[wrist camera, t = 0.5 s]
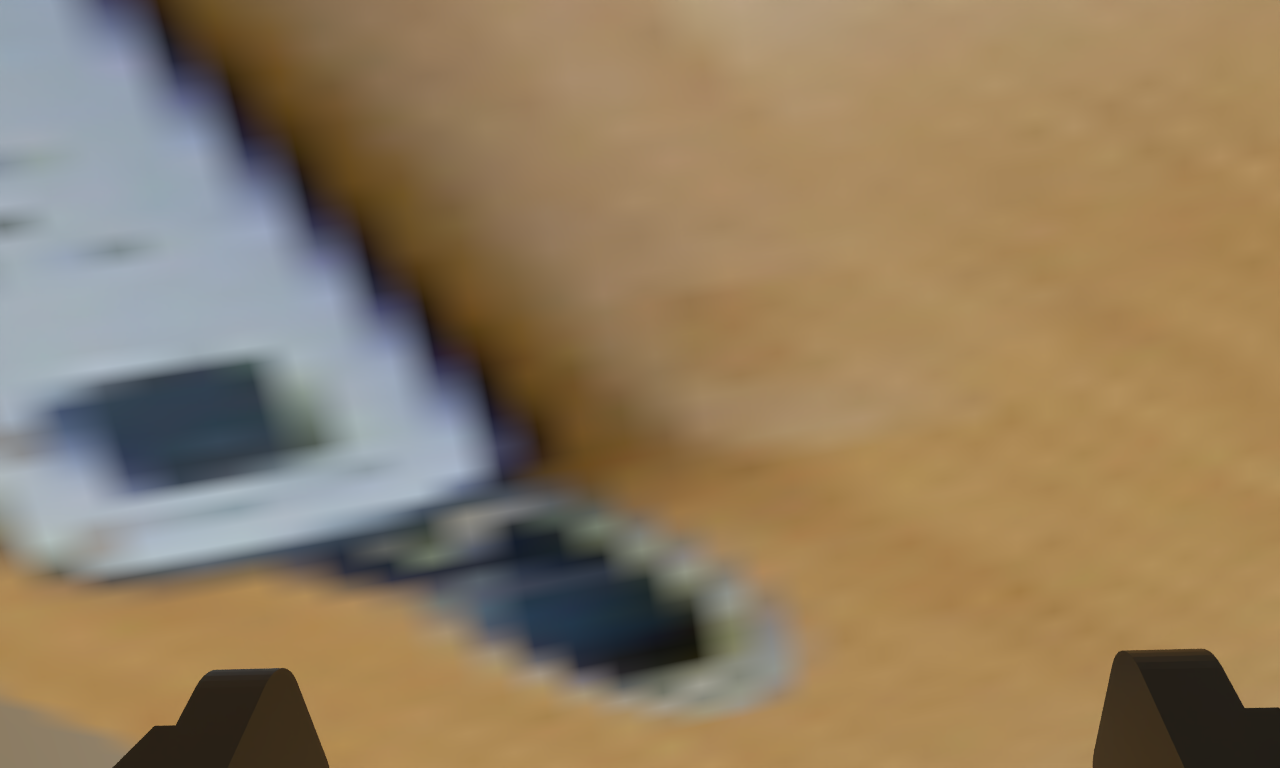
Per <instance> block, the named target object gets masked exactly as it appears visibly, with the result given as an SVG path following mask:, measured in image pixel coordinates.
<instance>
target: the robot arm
mask: <svg viewBox="0 0 1280 768" xmlns="http://www.w3.org/2000/svg"><path fill="white" fill-rule="evenodd" d="M113 768H329V765H328V761H327V759H326V756H325V753H324V751H323V748H322V746H321V743H320V740H319V738H318V735H317V733H316V730H315V727H314V725H313V722H312V720H311V717H310V715H309V712H308V709H307V707H306V704H305V702H304V699H303V696H302V694H301V691H300V689H299V686H298V683H297V681H296V679H295V677H294V675H293V674H292V673H291V672H290V671H289V670H288V669H285V668H273V669H232V670H212V671H210V672H208V673H207V674H206V675H204V676H203V678H202V679H201V680H200V681H199V683H198V684H197V686H196V688H195V690H194V691H193V693H192V695H191V697H190V699H189V701H188V703H187V705H186V707H185V709H184V710H183V712H182V714H181V716H180V718H179V720H178V722H177V724H176V726H154V727H153V728H152V729H151V730H150V731H149V732H148V733H147V734H146V735H145V736H144V737H143V738H142V739H141V740H140V741H139V742H138V743H137V744H136V745H135V746H134V747H133V748H132V749H131V750H130V751H129V752H128V753H127V754H126V755H125V756H124V757H123V758H122V759H121V760H120V761H119V762H118V763H117V764H116V765H115V766H114V767H113ZM1093 768H1280V708H1244V706H1243V705H1242V703H1241V701H1240V699H1239V697H1238V695H1237V693H1236V692H1235V690H1234V688H1233V686H1232V684H1231V682H1230V681H1229V679H1228V677H1227V675H1226V673H1225V671H1224V670H1223V668H1222V666H1221V664H1220V663H1219V661H1218V660H1217V659H1216V657H1215V656H1214V655H1213V654H1212V653H1211V652H1209V651H1208V650H1206V649H1172V650H1130V651H1120V652H1118V653H1117V655H1116V656H1115V658H1114V661H1113V664H1112V669H1111V673H1110V678H1109V683H1108V688H1107V692H1106V697H1105V702H1104V707H1103V711H1102V716H1101V721H1100V726H1099V730H1098V735H1097V740H1096V745H1095V749H1094V755H1093Z"/></svg>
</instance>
